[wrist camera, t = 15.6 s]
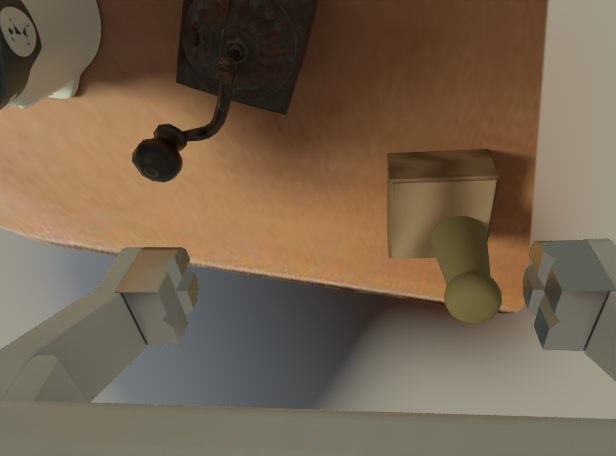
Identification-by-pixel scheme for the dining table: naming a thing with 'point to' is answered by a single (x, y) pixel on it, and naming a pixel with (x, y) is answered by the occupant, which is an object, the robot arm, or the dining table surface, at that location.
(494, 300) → the olive knobbed peg
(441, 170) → the walnut block
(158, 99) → the dining table surface
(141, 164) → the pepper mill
